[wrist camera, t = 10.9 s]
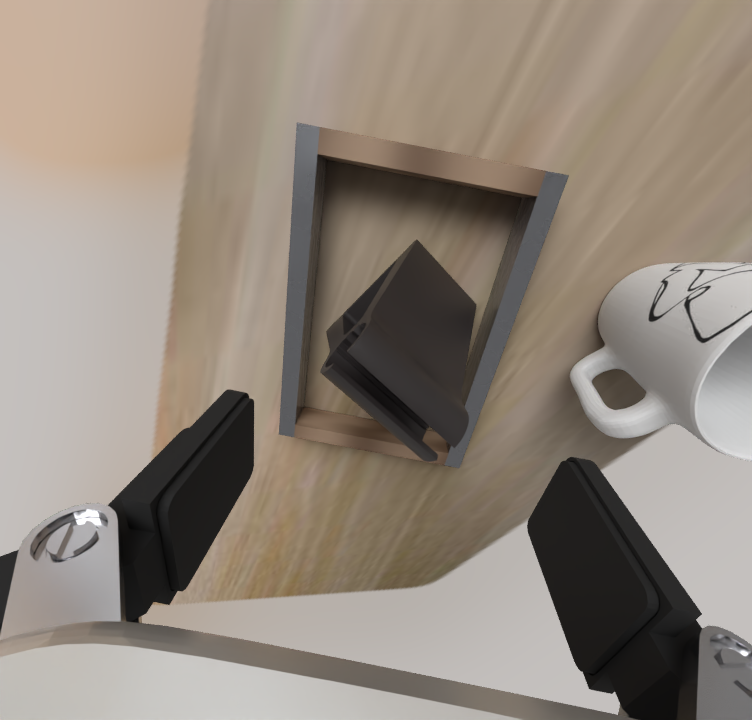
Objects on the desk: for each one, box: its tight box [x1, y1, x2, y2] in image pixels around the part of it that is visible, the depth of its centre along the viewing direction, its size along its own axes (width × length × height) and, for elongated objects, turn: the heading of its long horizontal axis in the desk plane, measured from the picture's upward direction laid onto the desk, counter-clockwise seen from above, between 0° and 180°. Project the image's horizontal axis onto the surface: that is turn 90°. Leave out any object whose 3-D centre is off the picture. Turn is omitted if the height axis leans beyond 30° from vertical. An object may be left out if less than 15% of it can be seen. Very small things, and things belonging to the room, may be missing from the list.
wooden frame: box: [279, 123, 569, 468], centre depth 23 cm, size 14×20×2 cm
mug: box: [570, 262, 752, 461], centre depth 18 cm, size 11×8×10 cm
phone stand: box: [320, 240, 476, 462], centre depth 18 cm, size 9×6×12 cm, turn 135°
